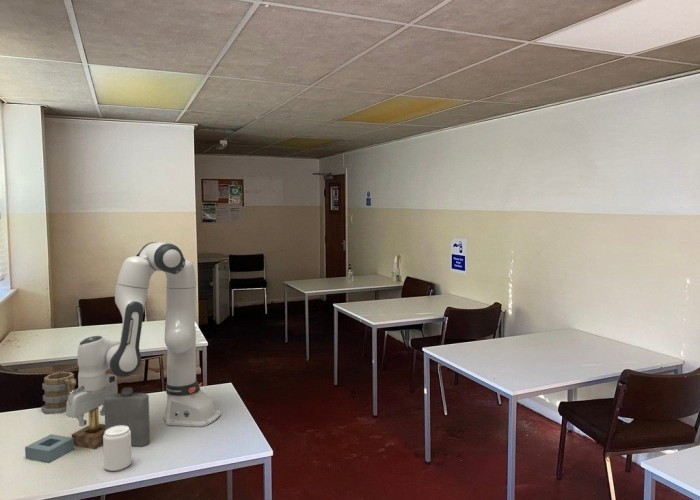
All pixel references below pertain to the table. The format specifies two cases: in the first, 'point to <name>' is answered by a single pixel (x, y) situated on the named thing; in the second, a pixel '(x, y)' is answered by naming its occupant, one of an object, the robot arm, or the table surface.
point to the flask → (129, 414)
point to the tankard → (57, 391)
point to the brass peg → (94, 421)
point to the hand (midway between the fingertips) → (93, 420)
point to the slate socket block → (49, 448)
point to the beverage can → (117, 448)
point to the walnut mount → (89, 437)
